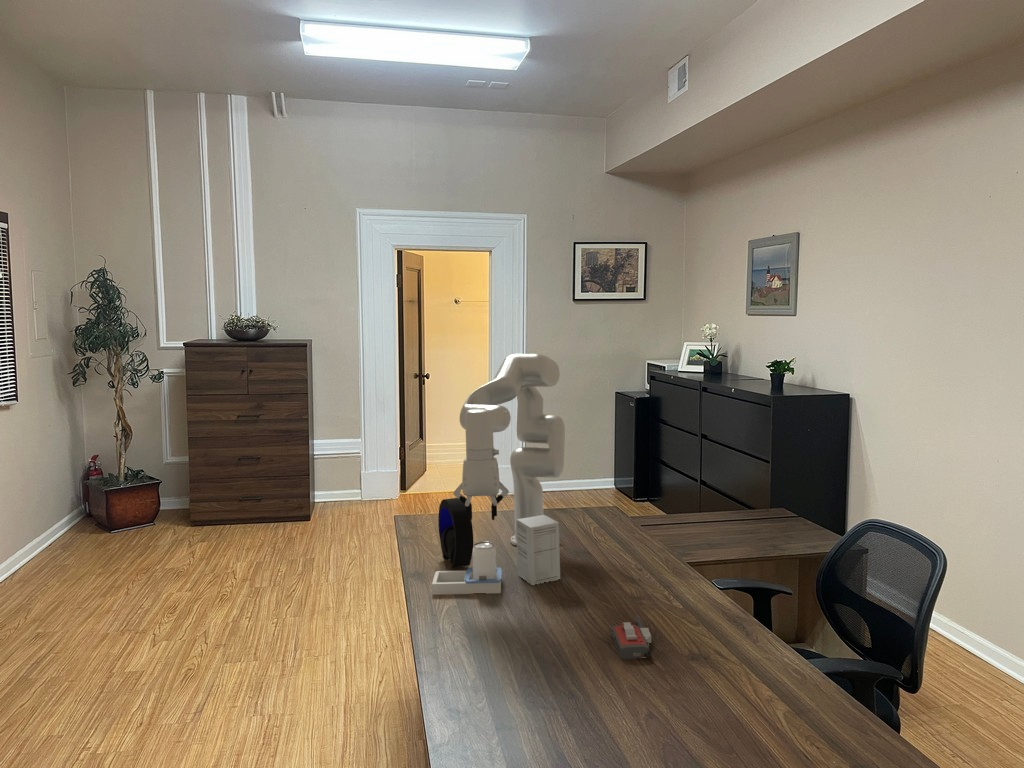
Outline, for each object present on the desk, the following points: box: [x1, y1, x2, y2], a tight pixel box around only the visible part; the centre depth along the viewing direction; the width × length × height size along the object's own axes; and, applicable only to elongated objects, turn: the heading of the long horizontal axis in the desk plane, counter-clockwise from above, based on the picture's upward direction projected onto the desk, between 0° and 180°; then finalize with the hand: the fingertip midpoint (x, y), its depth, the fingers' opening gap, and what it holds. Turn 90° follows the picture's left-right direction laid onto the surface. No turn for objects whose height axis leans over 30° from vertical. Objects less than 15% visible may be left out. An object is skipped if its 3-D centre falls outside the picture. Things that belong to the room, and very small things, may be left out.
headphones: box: [437, 497, 474, 569], centre depth 216 cm, size 19×7×20 cm, turn 22°
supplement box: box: [516, 514, 561, 586], centre depth 204 cm, size 10×9×17 cm
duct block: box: [431, 567, 503, 596], centre depth 198 cm, size 19×10×5 cm, turn 90°
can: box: [472, 541, 497, 580], centre depth 198 cm, size 6×6×12 cm
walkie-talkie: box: [610, 615, 653, 660], centre depth 164 cm, size 9×4×20 cm
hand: (481, 518), depth 197 cm, fingers open, 5 cm apart
